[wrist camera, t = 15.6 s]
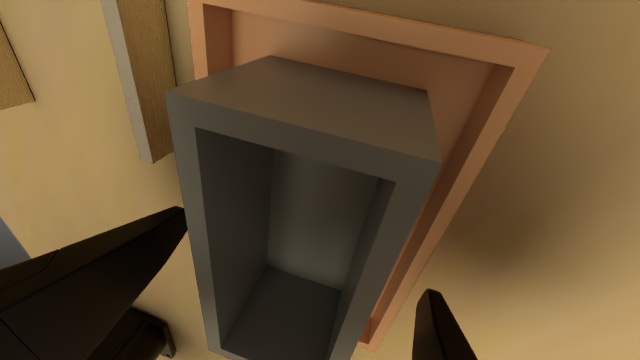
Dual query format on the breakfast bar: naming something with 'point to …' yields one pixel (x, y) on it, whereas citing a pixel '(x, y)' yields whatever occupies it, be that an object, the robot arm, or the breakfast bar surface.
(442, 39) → the tray
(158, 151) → the bay
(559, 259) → the breakfast bar surface
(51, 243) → the breakfast bar surface
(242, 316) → the box
